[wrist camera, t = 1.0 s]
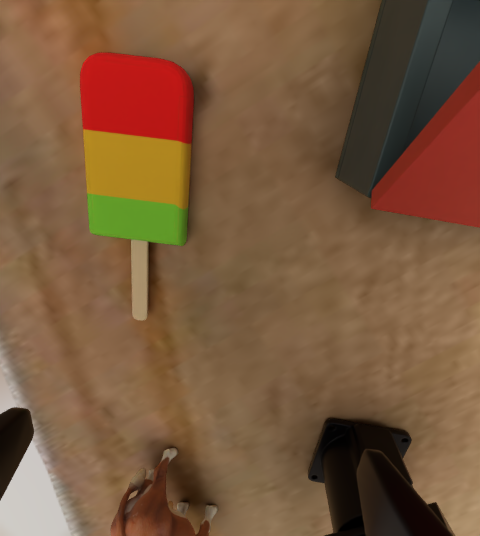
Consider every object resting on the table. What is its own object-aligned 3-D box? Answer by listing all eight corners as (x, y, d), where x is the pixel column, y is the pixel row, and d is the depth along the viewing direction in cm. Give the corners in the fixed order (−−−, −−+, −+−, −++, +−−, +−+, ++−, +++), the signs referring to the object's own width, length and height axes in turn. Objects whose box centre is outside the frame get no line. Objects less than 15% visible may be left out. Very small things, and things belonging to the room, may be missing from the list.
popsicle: (197, 67, 17) (190, 59, 15) (183, 318, 23) (177, 333, 21) (92, 54, 17) (73, 46, 15) (104, 307, 23) (92, 321, 21)
